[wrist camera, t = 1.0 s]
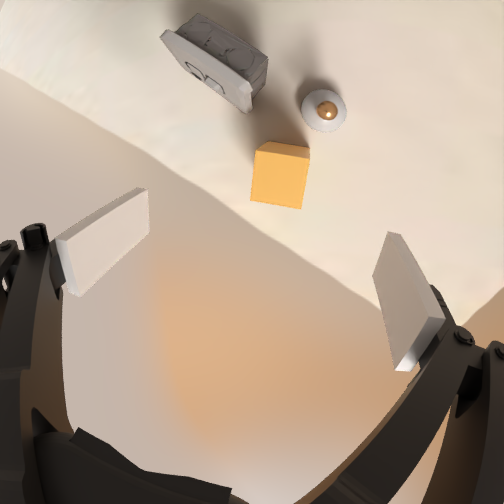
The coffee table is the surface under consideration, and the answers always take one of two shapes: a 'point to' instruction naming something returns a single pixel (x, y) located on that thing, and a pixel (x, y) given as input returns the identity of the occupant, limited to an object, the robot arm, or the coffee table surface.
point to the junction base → (311, 116)
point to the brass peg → (327, 110)
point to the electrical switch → (219, 60)
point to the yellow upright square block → (280, 174)
